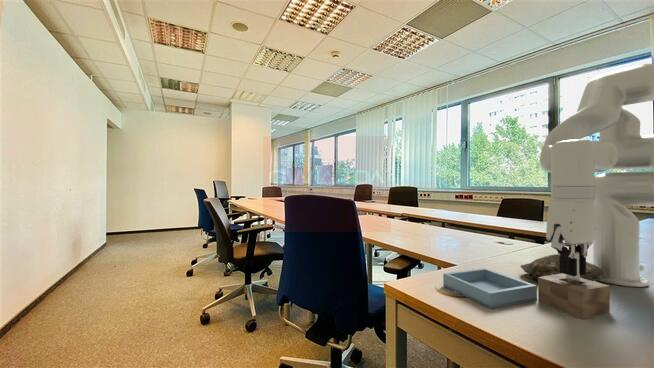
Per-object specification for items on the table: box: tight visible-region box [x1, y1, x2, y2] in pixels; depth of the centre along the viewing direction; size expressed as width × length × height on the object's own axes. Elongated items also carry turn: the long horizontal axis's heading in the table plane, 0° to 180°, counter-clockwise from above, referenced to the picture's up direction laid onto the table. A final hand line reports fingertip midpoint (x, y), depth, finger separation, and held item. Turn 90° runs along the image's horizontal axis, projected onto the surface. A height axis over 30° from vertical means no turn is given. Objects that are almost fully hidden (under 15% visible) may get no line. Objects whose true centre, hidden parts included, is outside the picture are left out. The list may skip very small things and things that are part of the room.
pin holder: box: [537, 273, 611, 320], centre depth 64 cm, size 9×9×6 cm
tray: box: [442, 267, 538, 309], centre depth 73 cm, size 15×15×4 cm
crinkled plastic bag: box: [520, 253, 604, 282], centre depth 82 cm, size 16×9×20 cm
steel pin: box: [566, 252, 580, 285], centre depth 64 cm, size 2×2×12 cm
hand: (572, 273), depth 64 cm, fingers closed on steel pin, 2 cm apart
